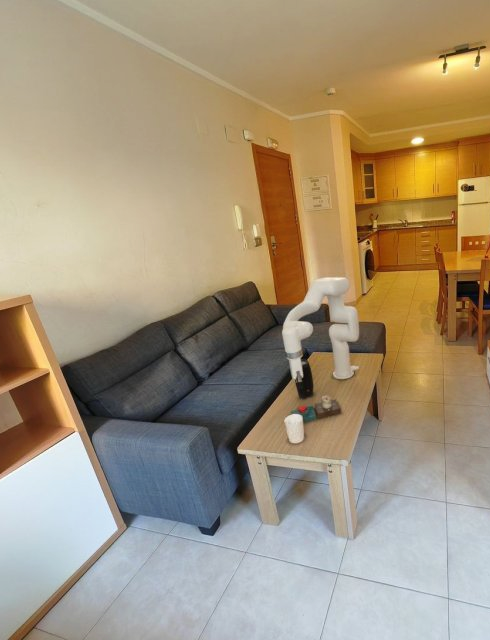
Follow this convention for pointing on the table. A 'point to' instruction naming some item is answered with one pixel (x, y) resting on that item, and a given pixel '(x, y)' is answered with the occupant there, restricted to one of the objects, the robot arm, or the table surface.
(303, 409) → the button
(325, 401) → the dial
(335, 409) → the dial panel
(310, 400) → the table surface
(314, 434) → the table surface
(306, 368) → the portable speaker
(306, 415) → the button block
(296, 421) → the white cup
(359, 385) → the table surface
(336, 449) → the table surface
